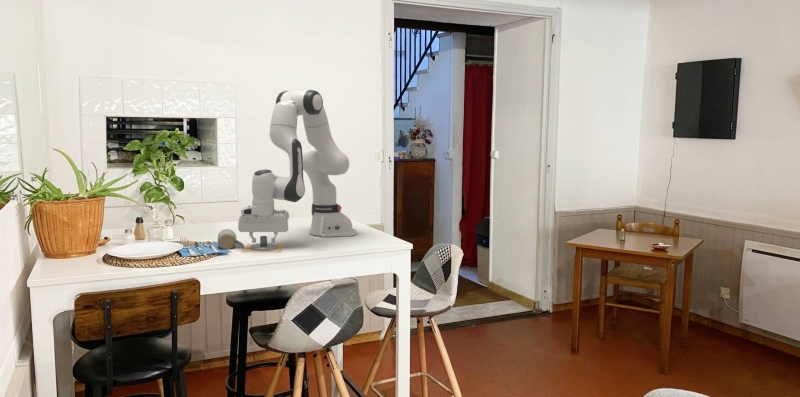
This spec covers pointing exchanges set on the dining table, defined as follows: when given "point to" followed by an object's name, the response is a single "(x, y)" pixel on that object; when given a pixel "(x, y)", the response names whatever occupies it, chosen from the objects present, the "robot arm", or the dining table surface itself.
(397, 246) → the dining table surface
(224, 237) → the ceramic mug
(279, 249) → the mat
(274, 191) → the robot arm
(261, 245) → the lid
